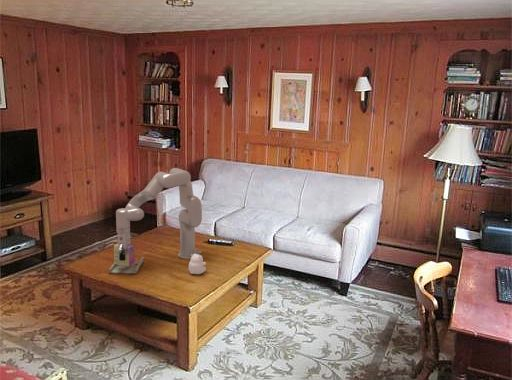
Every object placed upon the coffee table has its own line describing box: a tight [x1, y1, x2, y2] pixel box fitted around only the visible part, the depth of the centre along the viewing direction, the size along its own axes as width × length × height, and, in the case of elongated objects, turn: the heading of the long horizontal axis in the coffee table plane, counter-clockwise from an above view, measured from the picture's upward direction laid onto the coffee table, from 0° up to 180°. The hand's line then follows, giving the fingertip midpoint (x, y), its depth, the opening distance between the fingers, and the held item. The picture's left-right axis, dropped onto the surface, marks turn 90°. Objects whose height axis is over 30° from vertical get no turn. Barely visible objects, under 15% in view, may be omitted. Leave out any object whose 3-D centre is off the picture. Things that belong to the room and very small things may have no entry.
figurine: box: [188, 253, 207, 275], centre depth 257 cm, size 10×10×12 cm
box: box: [113, 242, 135, 266], centre depth 255 cm, size 10×6×12 cm, turn 72°
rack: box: [108, 256, 145, 276], centre depth 262 cm, size 16×20×3 cm
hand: (124, 257), depth 255 cm, fingers closed on box, 7 cm apart
